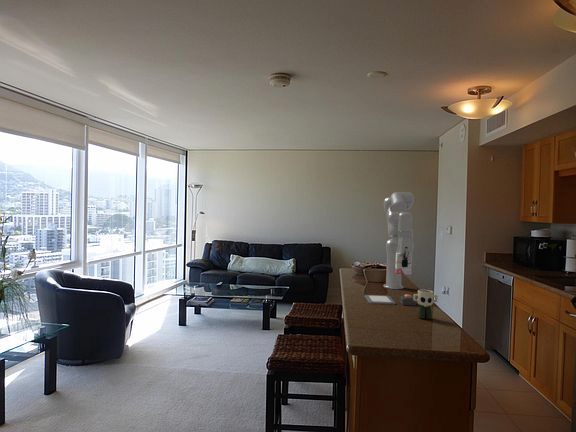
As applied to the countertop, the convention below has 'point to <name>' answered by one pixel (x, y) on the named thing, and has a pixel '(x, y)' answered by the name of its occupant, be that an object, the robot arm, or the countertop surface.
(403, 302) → the button housing
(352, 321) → the countertop surface
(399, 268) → the ink cartridge box
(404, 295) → the button
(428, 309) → the character mug
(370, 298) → the drawing board
